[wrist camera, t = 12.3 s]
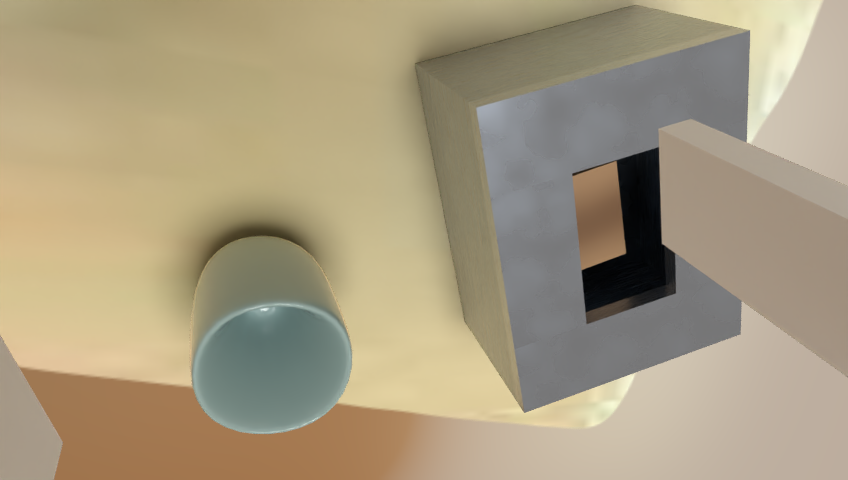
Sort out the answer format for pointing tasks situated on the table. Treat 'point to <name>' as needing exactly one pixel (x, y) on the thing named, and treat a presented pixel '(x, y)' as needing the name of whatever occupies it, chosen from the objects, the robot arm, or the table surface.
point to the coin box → (554, 193)
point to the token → (598, 214)
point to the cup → (267, 337)
